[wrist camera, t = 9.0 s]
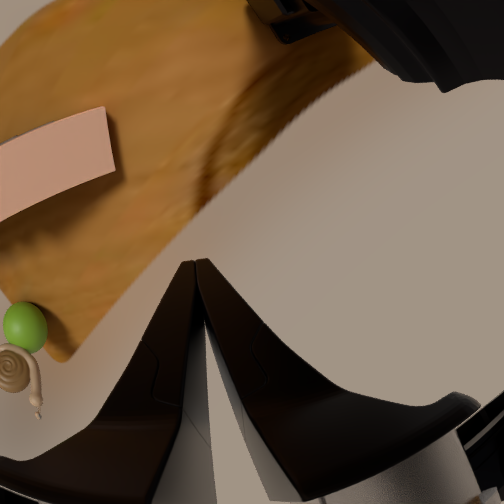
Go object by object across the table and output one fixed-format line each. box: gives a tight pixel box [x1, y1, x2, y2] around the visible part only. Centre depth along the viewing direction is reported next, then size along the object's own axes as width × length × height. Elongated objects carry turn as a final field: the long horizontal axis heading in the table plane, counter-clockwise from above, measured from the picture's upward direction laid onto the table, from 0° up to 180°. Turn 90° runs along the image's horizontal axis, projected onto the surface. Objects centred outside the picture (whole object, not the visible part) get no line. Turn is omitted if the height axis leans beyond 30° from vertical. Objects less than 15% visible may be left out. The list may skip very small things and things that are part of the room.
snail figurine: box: [0, 302, 48, 420], centre depth 18 cm, size 5×6×12 cm
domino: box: [0, 106, 116, 222], centre depth 13 cm, size 1×4×10 cm
